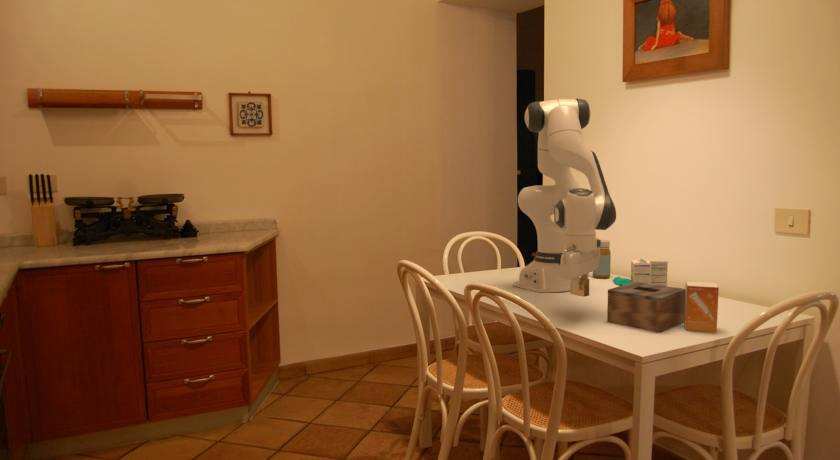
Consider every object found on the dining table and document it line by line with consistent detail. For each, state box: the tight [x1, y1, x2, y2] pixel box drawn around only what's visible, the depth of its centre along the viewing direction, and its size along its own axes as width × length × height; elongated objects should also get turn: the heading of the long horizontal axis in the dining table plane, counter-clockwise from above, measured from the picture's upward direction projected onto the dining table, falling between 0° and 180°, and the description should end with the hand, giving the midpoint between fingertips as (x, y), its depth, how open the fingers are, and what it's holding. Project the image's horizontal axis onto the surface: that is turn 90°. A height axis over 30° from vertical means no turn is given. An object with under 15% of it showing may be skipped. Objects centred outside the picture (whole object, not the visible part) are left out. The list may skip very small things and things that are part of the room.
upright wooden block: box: [569, 276, 590, 298], centre depth 174 cm, size 5×2×5 cm, turn 38°
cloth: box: [611, 276, 631, 286], centre depth 225 cm, size 26×14×2 cm, turn 164°
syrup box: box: [630, 259, 651, 284], centre depth 194 cm, size 6×6×14 cm
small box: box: [683, 281, 720, 334], centre depth 164 cm, size 8×6×13 cm
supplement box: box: [639, 257, 669, 286], centre depth 208 cm, size 7×7×13 cm
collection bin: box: [606, 282, 685, 334], centre depth 172 cm, size 16×16×10 cm
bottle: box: [592, 239, 612, 279], centre depth 241 cm, size 7×7×15 cm
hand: (579, 289), depth 175 cm, fingers closed on upright wooden block, 3 cm apart
